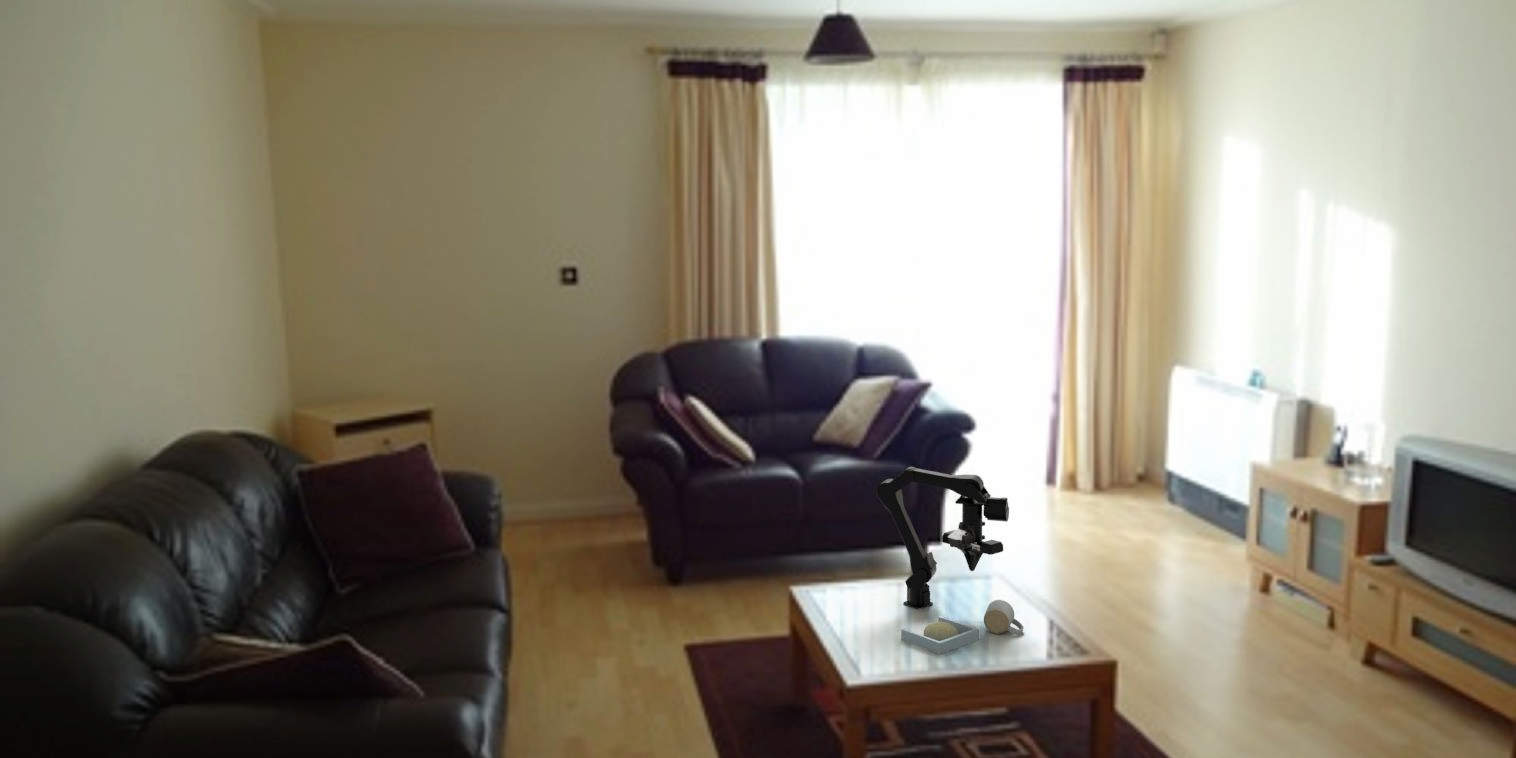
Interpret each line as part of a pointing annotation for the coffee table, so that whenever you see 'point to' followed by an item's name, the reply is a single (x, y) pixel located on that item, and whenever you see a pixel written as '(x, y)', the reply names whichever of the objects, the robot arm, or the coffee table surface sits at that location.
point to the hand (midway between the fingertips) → (972, 570)
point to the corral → (965, 637)
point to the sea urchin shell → (940, 631)
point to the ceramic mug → (1001, 618)
